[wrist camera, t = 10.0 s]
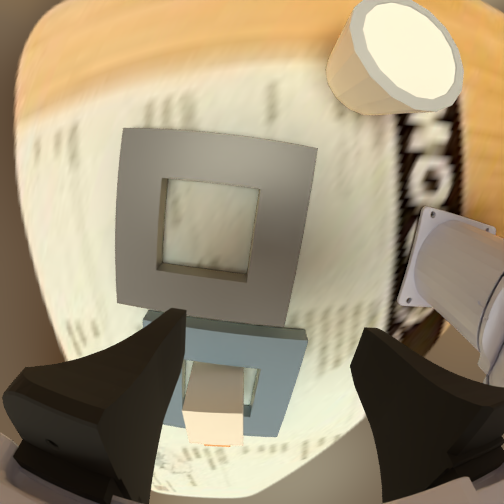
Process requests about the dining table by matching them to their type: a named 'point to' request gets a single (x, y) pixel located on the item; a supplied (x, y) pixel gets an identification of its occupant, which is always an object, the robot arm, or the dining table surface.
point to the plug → (214, 405)
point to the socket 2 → (244, 355)
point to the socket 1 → (221, 172)
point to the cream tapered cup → (394, 60)
